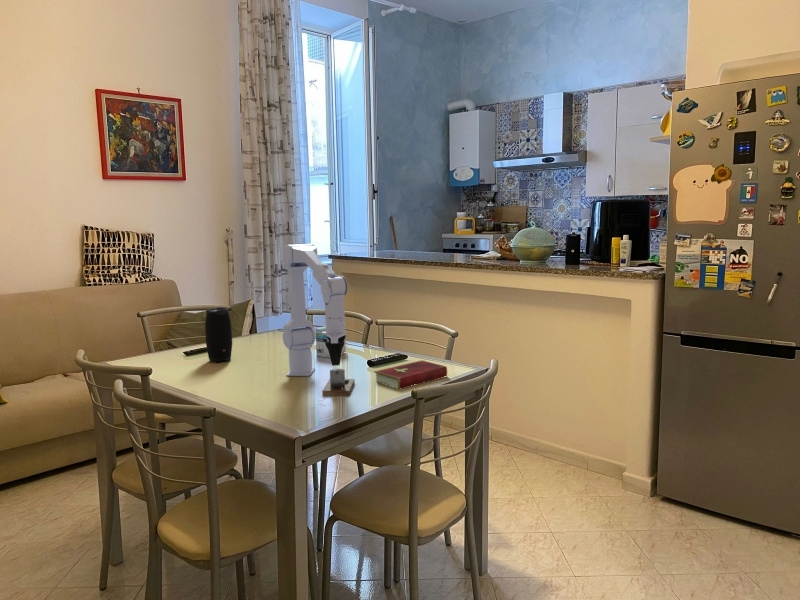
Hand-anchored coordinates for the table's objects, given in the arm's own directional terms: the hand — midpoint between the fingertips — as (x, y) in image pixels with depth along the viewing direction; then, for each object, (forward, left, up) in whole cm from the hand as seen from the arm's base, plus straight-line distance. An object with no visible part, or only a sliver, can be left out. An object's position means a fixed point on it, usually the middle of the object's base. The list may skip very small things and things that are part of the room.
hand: (336, 362), depth 182 cm
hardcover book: (-15, +22, -10) cm, 28 cm away
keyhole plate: (-3, 0, -9) cm, 10 cm away
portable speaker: (-40, -50, -10) cm, 65 cm away
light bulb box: (-50, -10, -10) cm, 52 cm away
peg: (0, 0, -9) cm, 9 cm away
